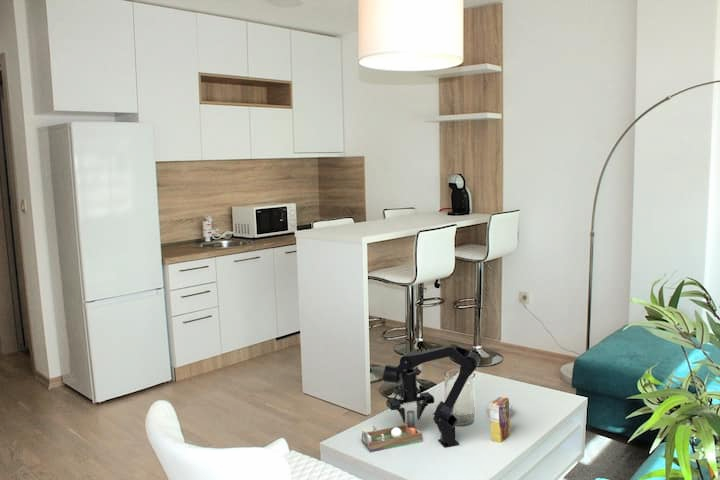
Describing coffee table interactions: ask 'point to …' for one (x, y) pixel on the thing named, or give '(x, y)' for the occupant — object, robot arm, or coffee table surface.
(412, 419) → the cylinder
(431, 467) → the coffee table surface
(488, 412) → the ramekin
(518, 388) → the coffee table surface
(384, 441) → the tray
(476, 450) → the coffee table surface
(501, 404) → the candy box
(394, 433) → the ball
